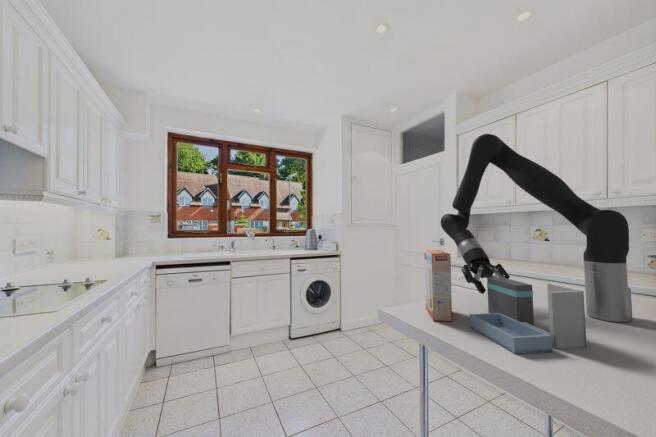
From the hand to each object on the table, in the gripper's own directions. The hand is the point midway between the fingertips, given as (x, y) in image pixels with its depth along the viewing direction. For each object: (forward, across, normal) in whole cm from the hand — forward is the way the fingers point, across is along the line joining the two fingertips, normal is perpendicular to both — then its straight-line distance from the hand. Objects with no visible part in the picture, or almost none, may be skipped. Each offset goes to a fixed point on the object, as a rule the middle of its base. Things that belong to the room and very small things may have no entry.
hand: (496, 292), depth 87 cm
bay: (+19, 0, -9) cm, 21 cm away
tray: (+17, -10, -7) cm, 21 cm away
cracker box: (+3, -18, +8) cm, 20 cm away
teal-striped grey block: (+9, 0, +2) cm, 9 cm away
